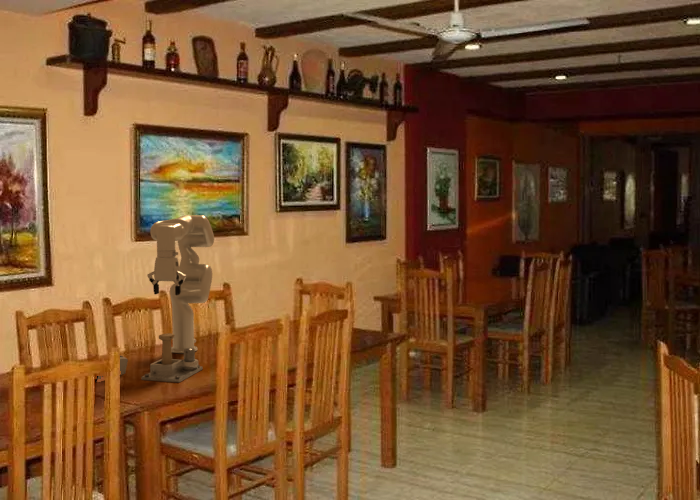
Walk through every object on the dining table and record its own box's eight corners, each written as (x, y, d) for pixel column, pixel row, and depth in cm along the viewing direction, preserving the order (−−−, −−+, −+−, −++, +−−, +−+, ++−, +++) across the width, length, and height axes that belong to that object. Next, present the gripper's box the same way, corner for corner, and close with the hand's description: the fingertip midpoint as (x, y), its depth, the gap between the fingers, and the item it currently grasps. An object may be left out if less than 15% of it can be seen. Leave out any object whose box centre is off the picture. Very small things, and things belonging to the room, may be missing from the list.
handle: (157, 372, 316) (156, 335, 315) (169, 369, 321) (168, 333, 320) (165, 374, 313) (164, 336, 312) (177, 370, 318) (176, 334, 317)
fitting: (167, 367, 330) (166, 345, 329) (202, 369, 326) (202, 347, 326) (141, 379, 309) (141, 356, 308) (179, 382, 305) (179, 359, 304)
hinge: (115, 372, 321) (121, 349, 319) (124, 376, 320) (131, 354, 318) (88, 381, 306) (94, 358, 304) (97, 386, 304) (104, 363, 302)
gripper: (189, 254, 334) (189, 293, 336) (151, 252, 338) (152, 292, 340) (181, 256, 327) (182, 296, 329) (143, 254, 331) (144, 295, 333)
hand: (167, 294), depth 334 cm, fingers open, 9 cm apart
